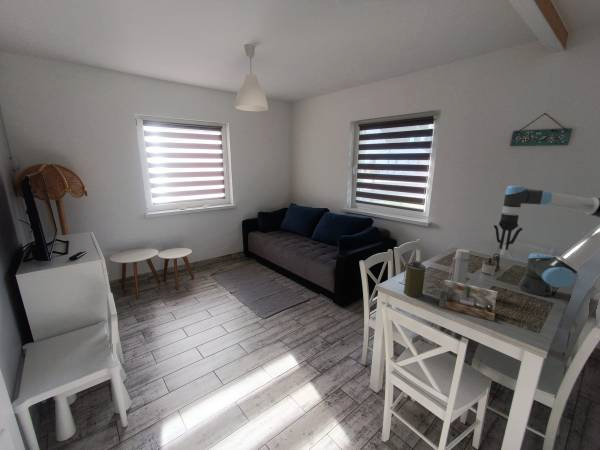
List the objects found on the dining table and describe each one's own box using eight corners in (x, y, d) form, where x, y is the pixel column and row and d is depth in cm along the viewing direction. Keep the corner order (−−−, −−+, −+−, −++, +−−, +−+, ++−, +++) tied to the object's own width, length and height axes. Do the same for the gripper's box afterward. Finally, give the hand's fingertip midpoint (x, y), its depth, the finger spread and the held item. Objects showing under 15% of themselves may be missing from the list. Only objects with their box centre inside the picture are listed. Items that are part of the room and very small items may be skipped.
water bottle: (461, 287, 164) (468, 249, 158) (466, 293, 156) (472, 253, 151) (445, 285, 166) (451, 247, 160) (448, 291, 159) (454, 251, 153)
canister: (423, 292, 157) (427, 260, 153) (421, 299, 148) (425, 266, 144) (404, 287, 163) (407, 257, 158) (401, 294, 154) (404, 262, 149)
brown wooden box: (493, 312, 137) (497, 291, 134) (493, 321, 129) (498, 299, 126) (441, 298, 150) (444, 279, 147) (438, 306, 142) (441, 286, 139)
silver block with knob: (491, 310, 135) (494, 293, 133) (491, 314, 131) (494, 298, 129) (460, 301, 143) (462, 286, 141) (459, 306, 138) (461, 290, 136)
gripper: (524, 214, 145) (516, 255, 150) (495, 211, 152) (488, 250, 157) (526, 216, 139) (517, 258, 144) (495, 213, 146) (488, 254, 151)
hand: (502, 254), depth 151 cm, fingers closed
